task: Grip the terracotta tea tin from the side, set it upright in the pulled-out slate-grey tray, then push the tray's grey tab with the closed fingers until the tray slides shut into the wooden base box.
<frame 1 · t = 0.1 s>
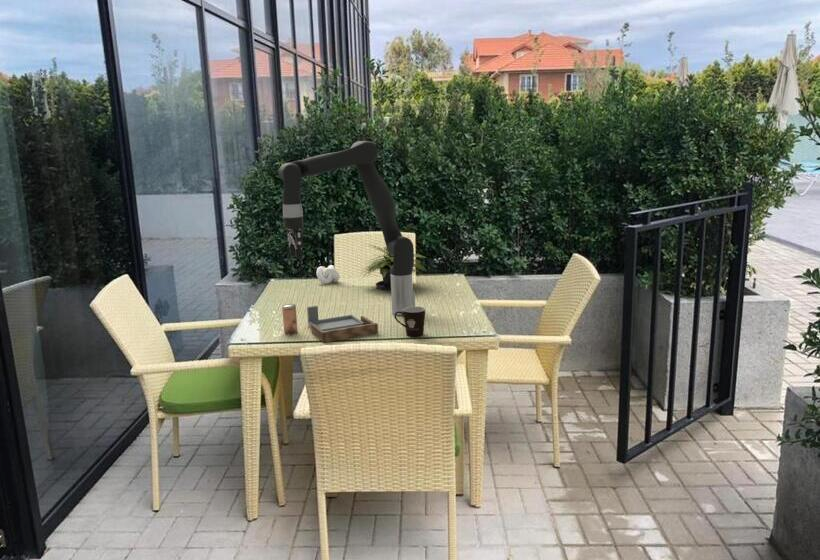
hand: (296, 257, 249), 29 cm above the table, tool pointing down, fingers open, 8 cm apart
wooden base box: (344, 333, 247), on the table
tea tin: (290, 332, 251), on the table
coffee mug: (412, 334, 243), on the table
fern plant: (395, 287, 324), on the table
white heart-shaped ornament: (328, 282, 341), on the table
sliding tray: (335, 317, 255), point 4 cm above the table, slide at 8.0 cm
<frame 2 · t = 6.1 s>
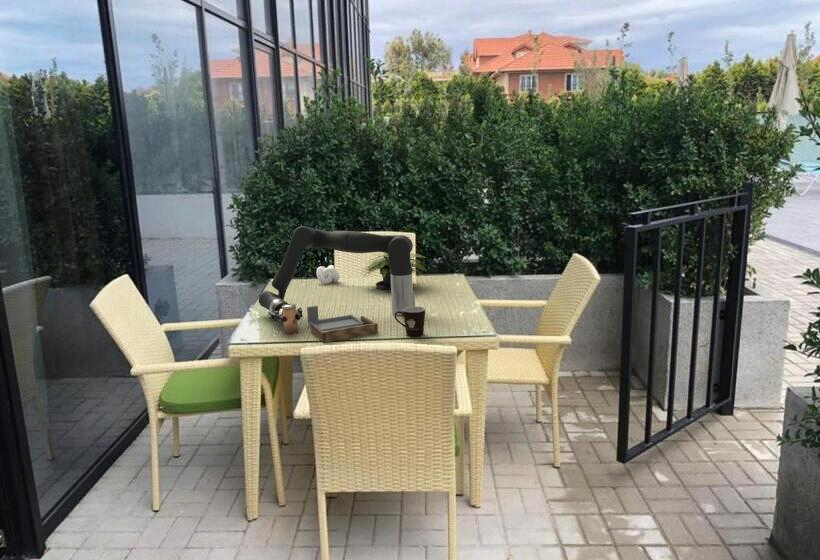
hand: (291, 318, 247), 6 cm above the table, tool horizontal, fingers closed on tea tin, 5 cm apart
tea tin: (291, 332, 251), on the table, touching gripper
everything else where it was.
when the fingers open (8 cm above the table, at t = 13.0 s): tea tin moves 1 cm, resting on sliding tray.
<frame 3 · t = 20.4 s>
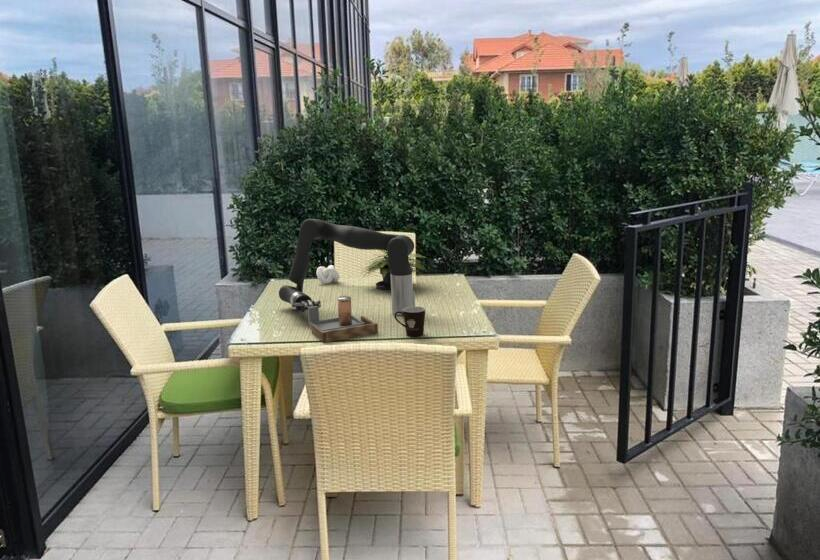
hand: (312, 310, 258), 6 cm above the table, tool horizontal, fingers closed
tea tin: (345, 324, 256), point 1 cm above the table, touching sliding tray
sliding tray: (336, 317, 254), point 4 cm above the table, slide at 7.1 cm, touching gripper, tea tin
everything else where it was.
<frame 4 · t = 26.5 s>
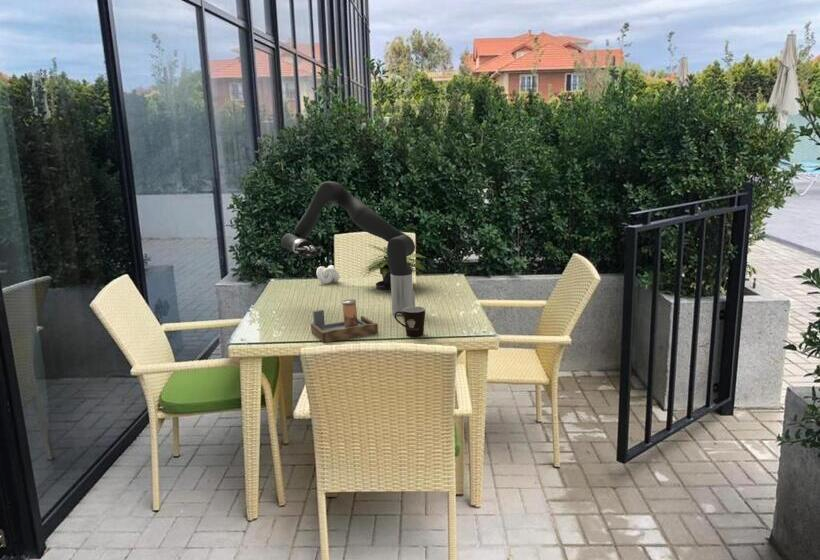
hand: (314, 253, 264), 28 cm above the table, tool horizontal, fingers closed
tea tin: (351, 328, 250), point 1 cm above the table, touching sliding tray
sliding tray: (342, 321, 248), point 4 cm above the table, slide at 0.0 cm, touching tea tin
everything else where it was.
at the end: sliding tray slide at 0.0 cm; tea tin inside the target area on the wooden base box (3.6 cm from its centre), point 1.1 cm above the wooden base box's base; tea tin tilted 3° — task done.
